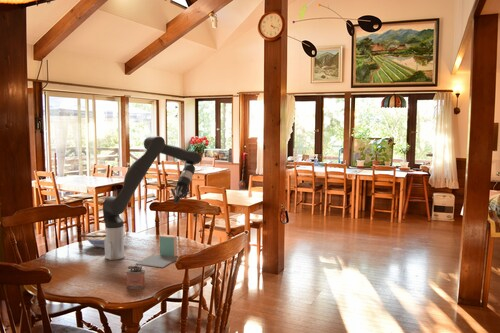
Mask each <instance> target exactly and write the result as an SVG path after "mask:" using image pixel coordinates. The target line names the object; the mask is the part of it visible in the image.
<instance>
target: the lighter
mask: <svg viewBox="0 0 500 333" xmlns="http://www.w3.org/2000/svg"><path fill="white" fill-rule="evenodd" d="M125 273H126V289H130V290H131V289H132V290H134V289H135V290H137V289H139V290H140V289H145V288H146V283H145V279H146V278H145V277H146V276H145V273H146V270H145V269H143V265H136V264H135V265H128V266H127V270H126V271H125Z"/></svg>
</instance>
